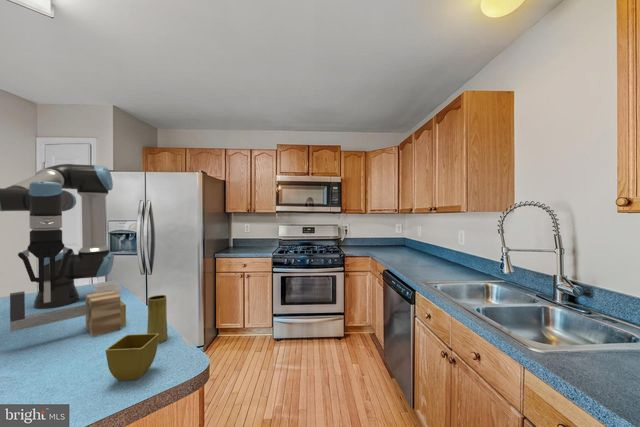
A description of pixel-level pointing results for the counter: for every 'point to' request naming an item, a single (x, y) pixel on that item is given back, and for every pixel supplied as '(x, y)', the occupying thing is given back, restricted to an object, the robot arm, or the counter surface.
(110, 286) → the cup
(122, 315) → the collar
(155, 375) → the counter surface
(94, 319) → the block
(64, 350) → the counter surface
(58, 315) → the shaft
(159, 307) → the vase
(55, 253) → the robot arm
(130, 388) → the counter surface
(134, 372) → the flower pot
